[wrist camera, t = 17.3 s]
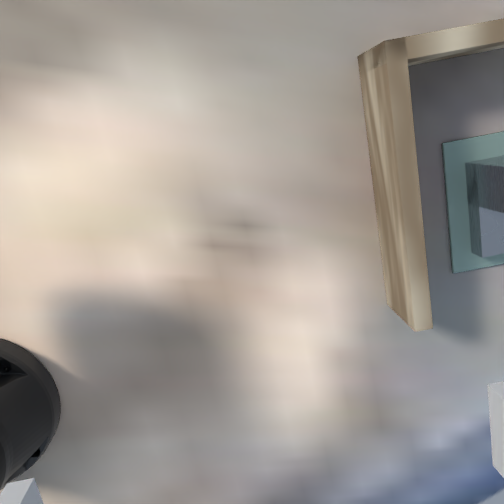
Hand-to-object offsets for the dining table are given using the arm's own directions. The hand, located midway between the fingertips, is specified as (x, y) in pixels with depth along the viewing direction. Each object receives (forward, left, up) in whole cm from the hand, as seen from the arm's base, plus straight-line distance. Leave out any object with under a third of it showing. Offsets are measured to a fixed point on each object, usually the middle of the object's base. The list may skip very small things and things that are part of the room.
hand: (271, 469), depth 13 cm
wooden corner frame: (+22, +2, -33) cm, 39 cm away
